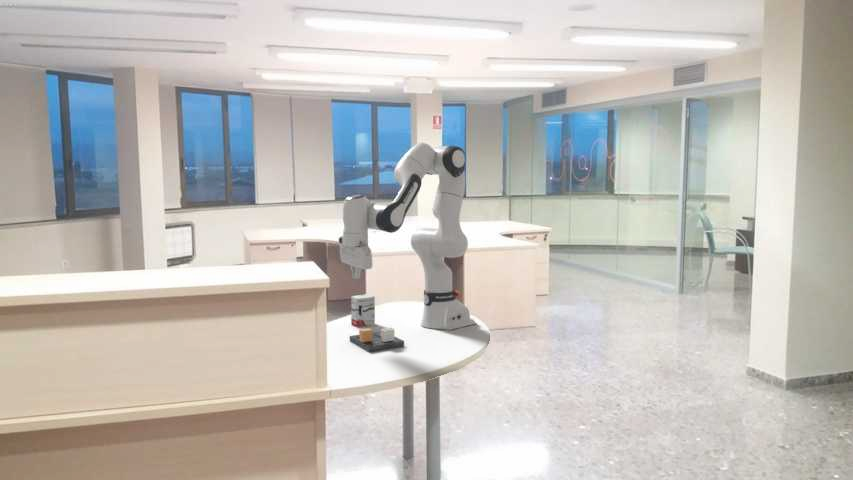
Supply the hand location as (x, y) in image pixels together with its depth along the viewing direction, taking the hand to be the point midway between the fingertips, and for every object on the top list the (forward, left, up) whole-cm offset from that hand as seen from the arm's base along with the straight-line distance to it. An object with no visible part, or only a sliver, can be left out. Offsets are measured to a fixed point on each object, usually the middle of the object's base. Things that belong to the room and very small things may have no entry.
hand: (356, 278), depth 235 cm
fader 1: (0, +8, -21) cm, 23 cm away
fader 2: (-7, +11, -21) cm, 25 cm away
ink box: (-13, -22, -24) cm, 35 cm away
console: (-5, +6, -24) cm, 25 cm away
